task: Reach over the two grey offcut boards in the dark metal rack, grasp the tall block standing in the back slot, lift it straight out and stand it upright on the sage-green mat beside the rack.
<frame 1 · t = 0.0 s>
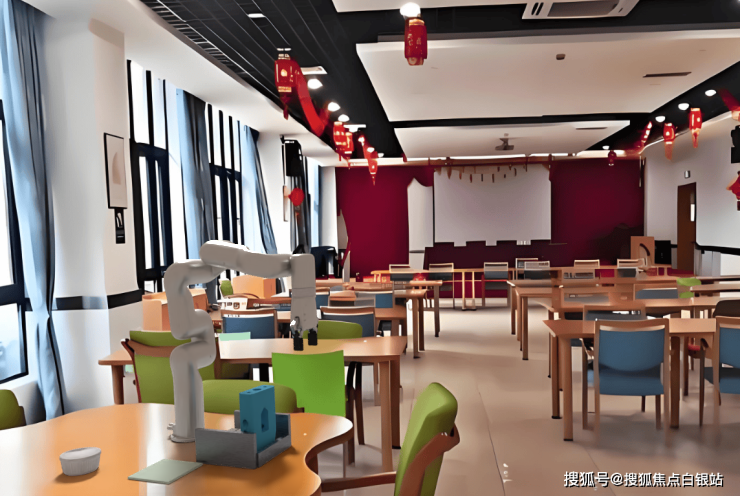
hand: (305, 348, 193), 31 cm above the table, tool pointing down, fingers open, 9 cm apart
rack: (245, 453, 190), on the table
mat: (166, 471, 177), on the table
offcut board front: (226, 452, 193), resting in rack
block: (259, 455, 188), resting in rack
offcut board back: (235, 453, 191), resting in rack
ramekin: (81, 471, 181), on the table
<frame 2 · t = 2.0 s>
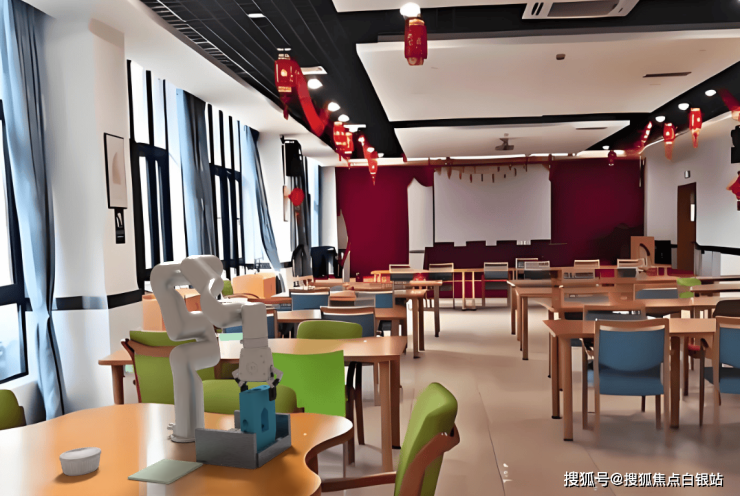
hand: (258, 399, 188), 17 cm above the table, tool pointing down, fingers open, 9 cm apart
nothing on the table moved.
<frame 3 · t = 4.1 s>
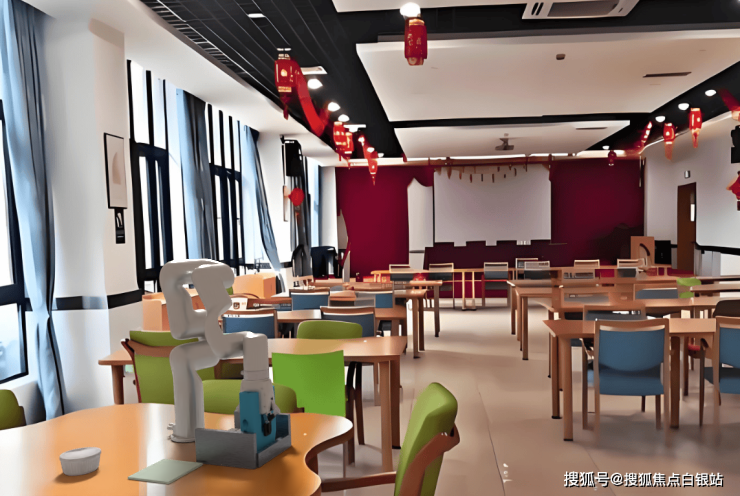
hand: (258, 433, 188), 7 cm above the table, tool pointing down, fingers closed on block, 5 cm apart
block: (259, 455, 188), resting in rack, touching gripper
everything else where it was.
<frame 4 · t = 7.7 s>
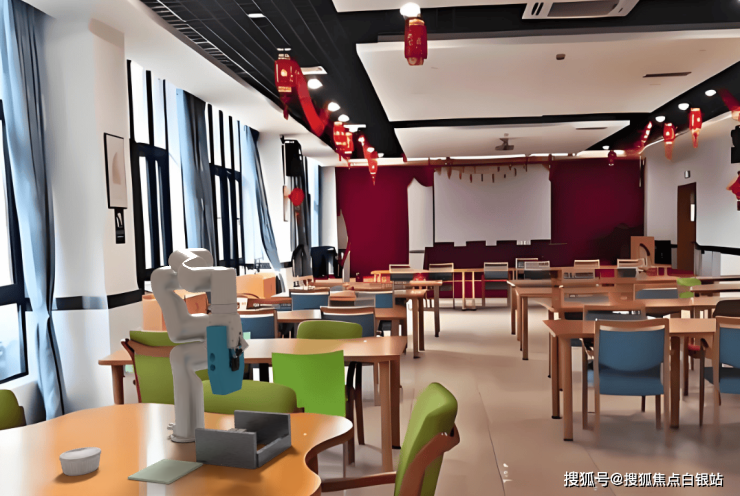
hand: (226, 369, 185), 27 cm above the table, tool pointing down, fingers closed on block, 5 cm apart
block: (227, 391, 185), point 20 cm above the table, touching gripper
everything else where it was.
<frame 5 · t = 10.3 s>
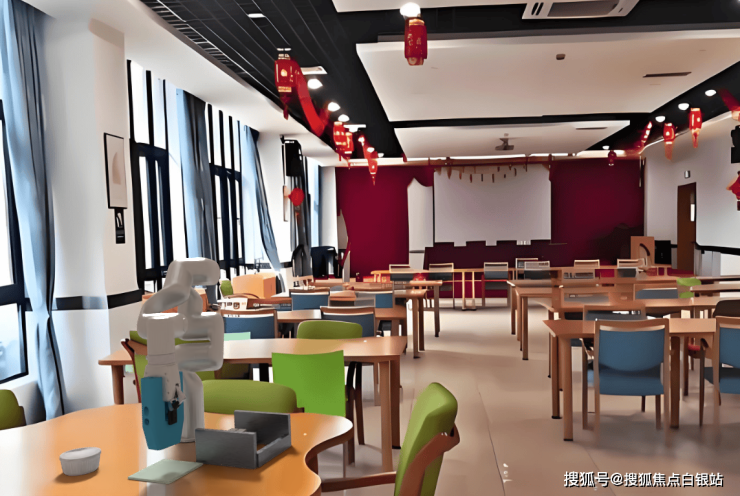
hand: (163, 422, 177), 14 cm above the table, tool pointing down, fingers closed on block, 5 cm apart
block: (164, 446, 177), point 8 cm above the table, touching gripper
everything else where it was.
when the fingers open (9 cm above the table, at t = 11.7 s): block drops 1 cm, resting on mat.
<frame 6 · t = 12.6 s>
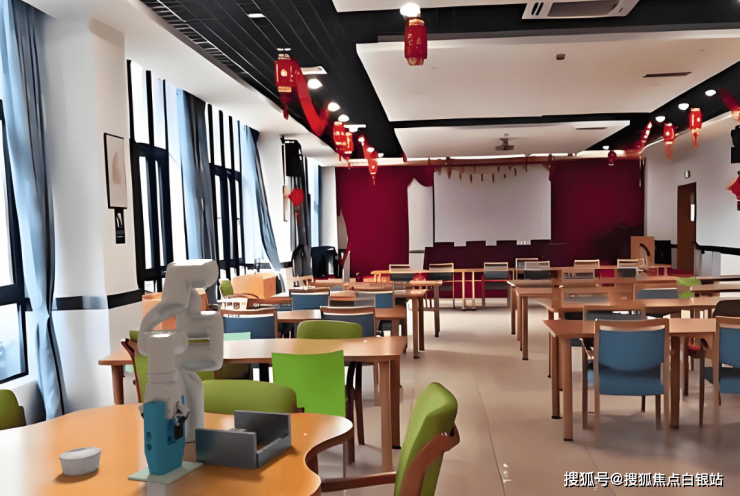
hand: (165, 436, 177), 10 cm above the table, tool pointing down, fingers open, 9 cm apart
block: (165, 470, 177), resting on mat
everything else where it was.
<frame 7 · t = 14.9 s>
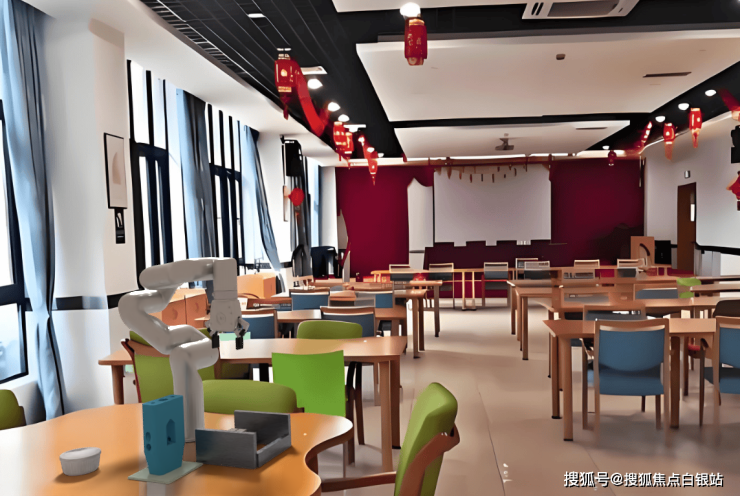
hand: (227, 348, 201), 31 cm above the table, tool pointing down, fingers open, 9 cm apart
nothing on the table moved.
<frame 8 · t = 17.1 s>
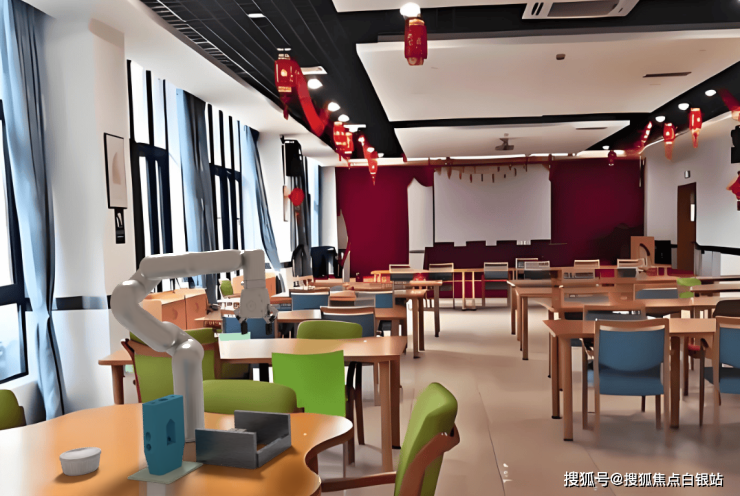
hand: (256, 334, 213), 33 cm above the table, tool pointing down, fingers open, 9 cm apart
nothing on the table moved.
at the end: block inside the target area on the mat (0.2 cm from its centre), point 0.4 cm above the mat's base; block tilted 0°; the gripper is holding nothing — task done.
